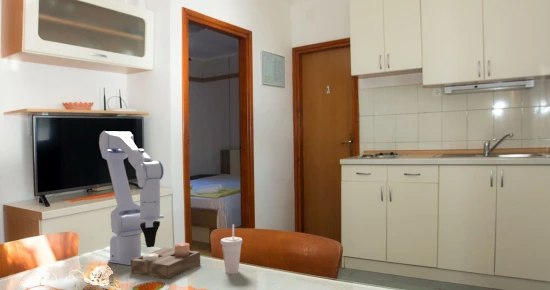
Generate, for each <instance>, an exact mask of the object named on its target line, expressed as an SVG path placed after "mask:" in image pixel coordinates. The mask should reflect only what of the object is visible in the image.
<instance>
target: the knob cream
mask: <svg viewBox="0 0 550 290" xmlns="http://www.w3.org/2000/svg"><path fill="white" fill-rule="evenodd" d="M150 253H151V252H150ZM142 256H143V260H150V261H152V260H154V259H157V258H158V254H155V253H151V254H149V253H146V254H143V255H142Z"/></svg>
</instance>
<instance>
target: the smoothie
mask: <svg viewBox="0 0 550 290" xmlns="http://www.w3.org/2000/svg"><path fill="white" fill-rule="evenodd" d="M231 225H232V228H231V229H232V233H231V236H229V237H227V236H226V237H224V238H223V237H222V238H221V239H220V244H221V247H222V249H221V250H222V255H223V262H224V268H225V269H224V271H225V273H226V274H227V275H236V274H238V273H239V268H240V261H241V249H242V243H243V238H242V237H238V236H235V224H231ZM235 273H236V274H235Z"/></svg>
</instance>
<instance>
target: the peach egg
mask: <svg viewBox="0 0 550 290" xmlns="http://www.w3.org/2000/svg"><path fill="white" fill-rule="evenodd" d="M174 249H175V257H182V258H184V257H187V256H189V251H190V243H189V242H180V243H179V242H178V243H175V244H174Z"/></svg>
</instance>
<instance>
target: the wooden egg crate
mask: <svg viewBox="0 0 550 290" xmlns="http://www.w3.org/2000/svg"><path fill="white" fill-rule="evenodd" d="M151 253H155V254H158V258H157V259H154V260H152V261H150V260H143V255H141V256H140V257H138V258H135V259H132V260H131V265H130V274H131V275H138V276H143V277H144V276H145V277H150V278H156V279H161V280H162V279H163V280H167V281H169V280H171V279H173V278H175V277H178V276H180V275H181V274H184V273H186V272H188V271H190V270H193V269H194V268H196V267H198V266H201V251H196V250H189V256H187V257H184V258H182V257H175V248H171V247H162V248H160V249H157V250H155V251H152V252H149V253H148V254H151Z"/></svg>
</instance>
